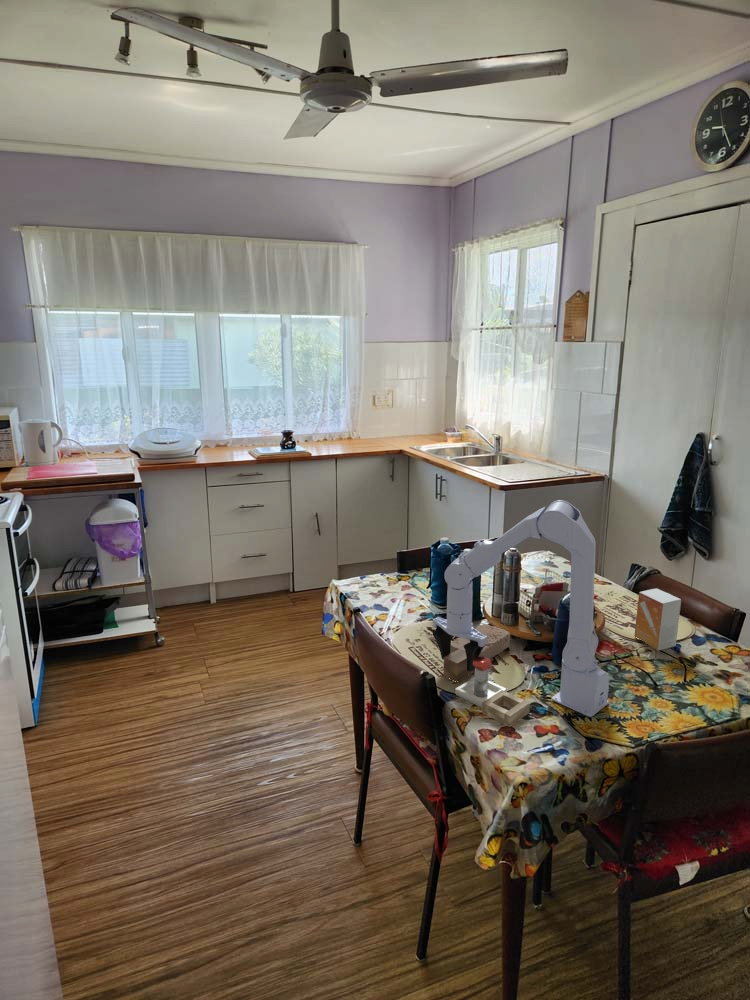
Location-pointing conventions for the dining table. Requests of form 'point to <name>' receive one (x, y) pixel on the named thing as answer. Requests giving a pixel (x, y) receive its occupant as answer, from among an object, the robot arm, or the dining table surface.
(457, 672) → the brown rectangular block
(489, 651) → the brick
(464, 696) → the tray
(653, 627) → the small box
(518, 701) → the socket block
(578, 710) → the robot arm
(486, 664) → the pin
